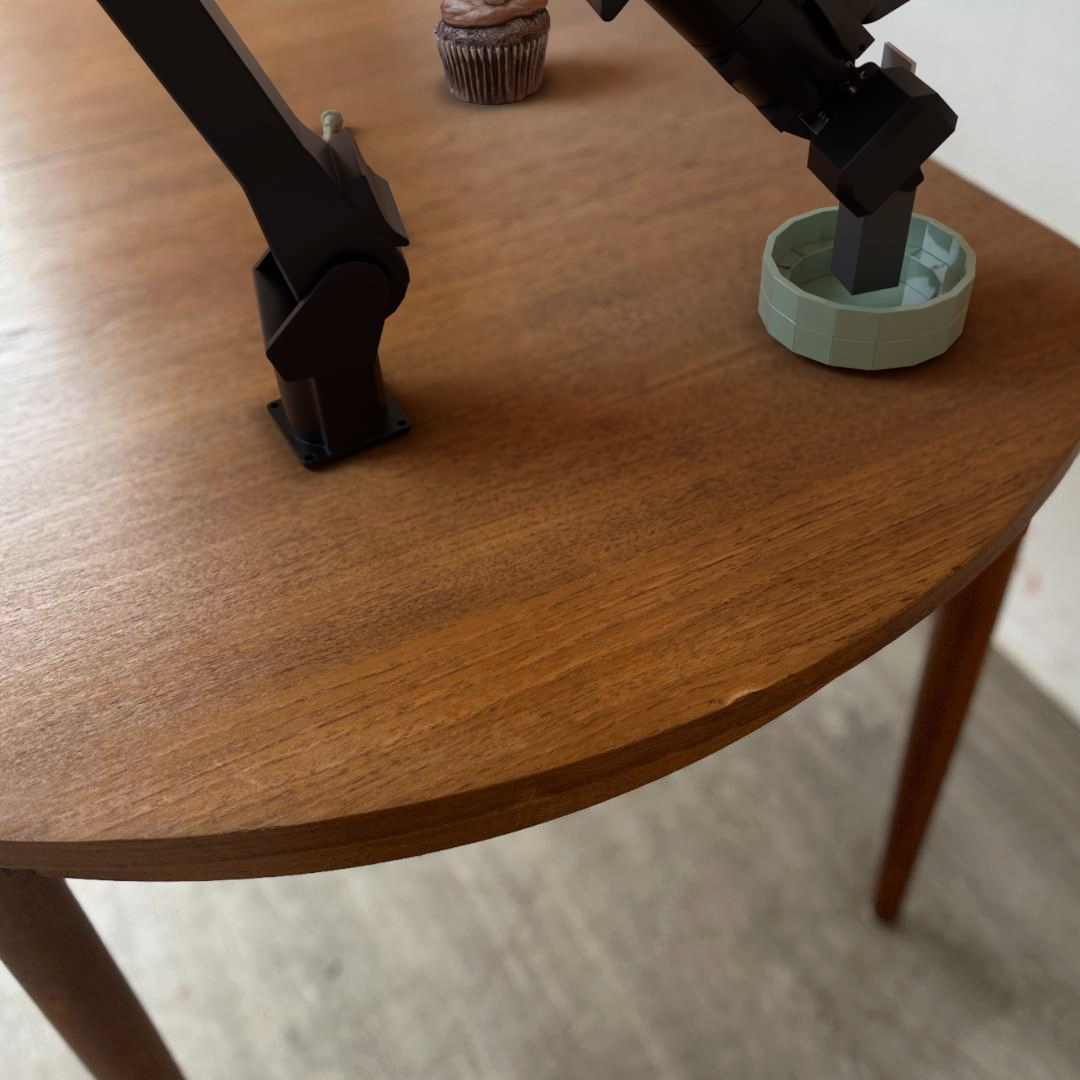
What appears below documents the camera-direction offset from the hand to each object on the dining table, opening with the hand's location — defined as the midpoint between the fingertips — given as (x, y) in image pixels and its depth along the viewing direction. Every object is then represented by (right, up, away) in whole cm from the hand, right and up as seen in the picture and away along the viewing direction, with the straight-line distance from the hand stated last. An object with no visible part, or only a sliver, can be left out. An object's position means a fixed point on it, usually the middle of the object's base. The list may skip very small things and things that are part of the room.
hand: (902, 171), depth 66 cm
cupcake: (-24, +18, +34) cm, 45 cm away
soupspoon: (-36, +5, +22) cm, 42 cm away
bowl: (-1, -7, +6) cm, 10 cm away
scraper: (-1, -5, +4) cm, 7 cm away
